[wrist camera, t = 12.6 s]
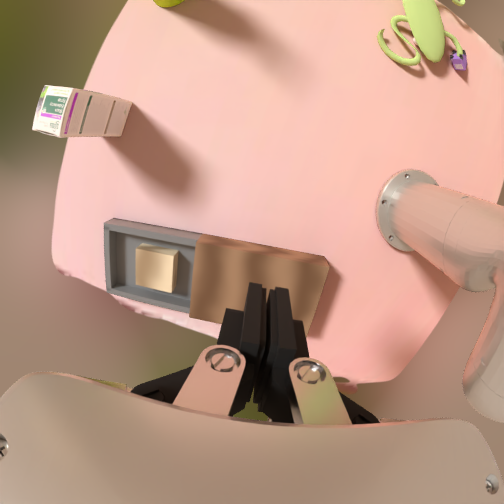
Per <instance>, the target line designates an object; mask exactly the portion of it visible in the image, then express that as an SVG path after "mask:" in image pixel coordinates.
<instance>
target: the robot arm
mask: <svg viewBox="0 0 504 504" xmlns="http://www.w3.org/2000/svg"><path fill="white" fill-rule="evenodd" d="M405 174H406V177H405ZM382 201H383V203H382ZM376 220H377V225H378V228H379V230H380V233H381V234H382V236H383V237H384V239H385V240H386V241H387V242H388V243H389V244H390V245H392V246H393V247H395V248H397V249H399V250H402V251H417V252H418V253H419V254H420V255H422V256H423V257H424V258H426V259H427V260H428V261H429V262H431V263H432V264H433V265H434V266H436V267H437V268H438V269H439V270H441V271H442V272H443V273H444V274H445V275H447V276H448V277H449V278H450V279H451V280H453V281H454V282H455V283H456V284H457V285H459V286H460V287H462V288H463V289H465V290H468V291H472V292H481V291H482V292H483V291H487V290H491V289H494V288H495V295H494V298H493V301H492V305H491V307H490V312H489V315H488V317H487V320H486V322H485V324H484V327H483V329H482V331H481V334H480V336H479V338H478V340H477V342H476V345H475V347H474V349H473V351H472V353H471V355H470V357H469V359H468V362H467V364H466V366H465V370H464V373H463V381H462V384H463V391H464V394H465V397H466V399H467V401H468V402H469V404H470V405H471V406H472V407H473V408H474V409H475V410H476V411H477V412H479V413H480V414H482V415H483V416H485V417H487V418H489V419H492V420H494V421H498V422H501V423H504V207H503V206H501V205H498V204H495V203H492V202H489V201H486V200H483V199H479V198H476V197H473V196H470V195H467V194H464V193H461V192H457V191H454V190H451V189H447V188H444V187H440V186H439V185H438V184H437V182H436V181H435V180H434V179H433V178H432V177H431V176H430V175H429V174H427V173H425V172H423V171H419V170H413V169H409V170H403V171H400V172H398V173H396V174H395V175H393V176H392V177H391V178H390V179H389V180H388V181H387V182H386V183H385V185H384V186H383V188H382V190H381V192H380V194H379V197H378V200H377V206H376ZM389 236H390V237H389ZM266 290H267V289H266V288H262V284H259V283H253V282H249V286H248V291H247V296H246V301H245V307H244V311H241V310H235V309H230V308H226V310H225V314H224V318H223V322H222V326H221V330H220V334H219V338H218V342H217V345H214V346H210V347H208V348H206V349H205V350H204V351H203V352H202V353H201V355H200V357H199V358H198V360H197V362H196V364H195V365H194V366H192V367H189V368H187V369H184V370H181V371H178V372H176V373H172V374H169V375H167V376H164V377H161V378H158V379H155V380H152V381H149V382H145V383H142V384H140V385H138V386H136V387H134V388H128V387H127V385H126V384H121V383H114V382H109V381H103V380H97V379H92V378H87V377H82V376H77V375H71V374H66V373H58V372H47V371H45V372H44V371H42V372H33V373H30V374H27V375H26V376H24V377H22V378H21V379H19V380H18V381H17V382H15V383H14V384H13V385H12V386H11V387H10V388H9V389H8V390H7V391H6V392H5V393H4V394H3V396H2V397H1V398H0V504H504V482H503V479H502V476H501V474H500V471H499V469H498V466H497V464H496V461H495V459H494V457H493V454H492V452H491V450H490V448H489V446H488V444H487V443H486V441H485V439H484V437H483V436H482V434H481V433H480V431H479V430H478V429H477V428H476V427H475V426H474V425H473V424H471V423H469V422H466V421H463V420H458V419H453V418H429V419H419V420H409V421H406V420H397V419H388V418H381V419H380V420H378V419H377V418H376V417H375V416H374V415H373V414H372V413H370V412H368V411H367V410H365V409H364V408H362V407H361V406H359V405H358V404H356V403H355V402H353V401H352V400H350V399H349V398H347V397H346V396H345V395H343V394H342V393H340V392H339V391H338V389H337V387H336V385H335V382H334V381H333V378H332V376H331V373H330V371H329V369H328V368H327V367H326V366H325V365H324V364H323V363H322V362H320V361H318V360H316V359H312V358H309V352H308V347H307V341H306V335H305V330H304V325H303V321H302V320H295V319H293V317H292V309H291V302H290V295H289V289H287V288H281V287H275V289H274V290H273V289H270V291H269V295H268V299H267V303H266ZM253 388H254V397H253V403H258V411H259V412H263V413H265V414H266V415H267V416H268V417H269V418H268V421H259V420H251V419H244V418H237V417H233V415H234V414H236V413H237V412H239V411H241V410H243V409H244V408H245V404H246V402H249V401H250V398H251V395H252V392H253Z"/></svg>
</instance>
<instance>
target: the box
mask: <svg viewBox="0 0 504 504" xmlns="http://www.w3.org/2000/svg"><path fill="white" fill-rule="evenodd" d="M201 235H202V233H196V232H190V231H185V230H179V229H174V228H168V227H162V226H157V225H151V224H145V223H140V222H134V221H128V220H122V219H117V218H113V219H111V220H109V221H107V222H105V223H104V256H105V275H106V289H107V293H111V294H114V295H118V296H121V297H125V298H129V299H132V300H136V301H140V302H144V303H148V304H152V305H156V306H160V307H164V308H168V309H172V310H177V311H181V312H185V313H190V300H191V288H192V276H193V266H194V256H195V247H196V242H197V240H198V239H199V238H200V237H201ZM142 243H144V244H149V245H154V246H159V247H164V248H170V249H175V250H179V252H178V266H177V281H176V287H175V288H174V290H173V292H172V293H169V292H165V291H160V290H156V289H152V288H148V287H144V286H140V285H136V248H137V247H138V246H139V245H141V244H142Z"/></svg>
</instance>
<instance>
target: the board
mask: <svg viewBox="0 0 504 504" xmlns="http://www.w3.org/2000/svg"><path fill="white" fill-rule="evenodd" d="M329 268H330V267H329V265H328V263H327V261H326V259H325V257H324V256H319V255H314V254H309V253H304V252H299V251H293V250H288V249H283V248H277V247H272V246H267V245H261V244H256V243H251V242H245V241H240V240H234V239H229V238H224V237H218V236H213V235H207V234H202V235H201V237H200V238H199V239H198V240H197V242H196V247H195V256H194V266H193V276H192V288H191V300H190V313H189V317H190V318H195V319H200V320H204V321H209V322H214V323H219V324H222V322H223V318H224V314H225V310H226V308H230V309H235V310H241V311H244V307H245V301H246V296H247V291H248V286H249V282H253V283H259V284H262V288H266V289H267V290H266V303H267V299H268V295H269V291H270V289H273V290H274V289H275V287H281V288H287V289H289V295H290V302H291V309H292V317H293V319H295V320H302V321H303V325H304V330H305V335H306V337H307V334H308V331H309V329H310V326H311V323H312V320H313V317H314V314H315V311H316V309H317V306H318V303H319V300H320V297H321V294H322V290H323V287H324V284H325V281H326V278H327V275H328V271H329Z"/></svg>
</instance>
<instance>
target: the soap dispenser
mask: <svg viewBox="0 0 504 504" xmlns="http://www.w3.org/2000/svg"><path fill="white" fill-rule="evenodd" d="M153 1H154V2H155V3H156V4H157V5H158V6H160V7H172V6H175V5H178V4H180V3H181V2H183V1H184V0H153Z"/></svg>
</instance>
